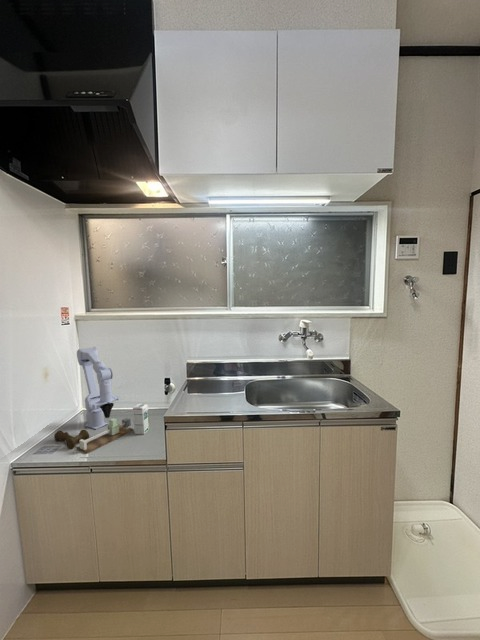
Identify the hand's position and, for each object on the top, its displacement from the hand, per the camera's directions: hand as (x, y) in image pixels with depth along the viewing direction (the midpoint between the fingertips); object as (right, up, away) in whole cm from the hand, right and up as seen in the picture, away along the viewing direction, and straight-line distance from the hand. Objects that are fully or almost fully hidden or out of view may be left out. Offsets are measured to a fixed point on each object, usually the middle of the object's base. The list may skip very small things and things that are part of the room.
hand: (107, 417), depth 164 cm
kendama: (-14, -11, -7) cm, 19 cm away
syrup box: (+17, -9, +4) cm, 20 cm away
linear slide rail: (+2, -9, -4) cm, 10 cm away
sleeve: (+4, -8, -1) cm, 9 cm away
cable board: (+1, -10, -4) cm, 11 cm away
